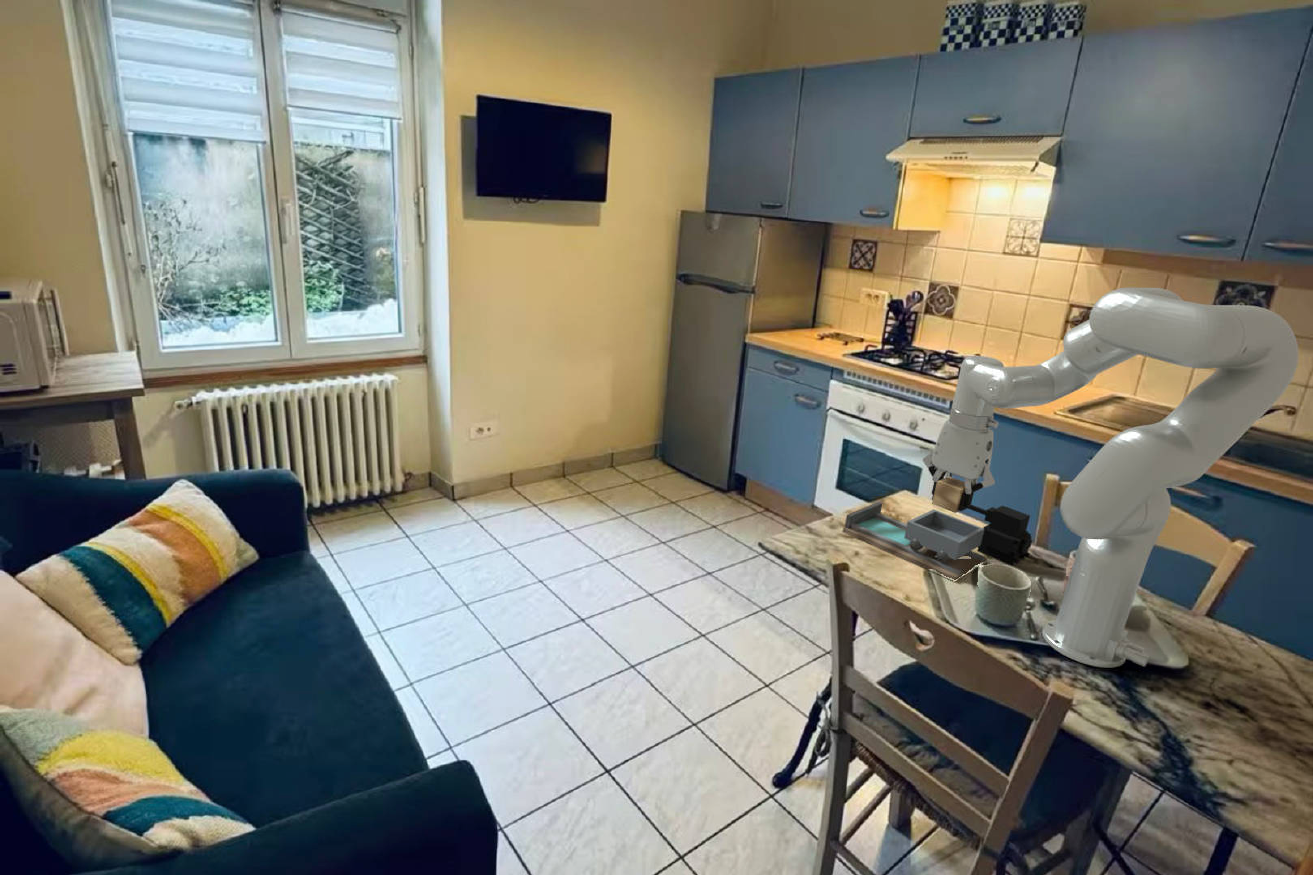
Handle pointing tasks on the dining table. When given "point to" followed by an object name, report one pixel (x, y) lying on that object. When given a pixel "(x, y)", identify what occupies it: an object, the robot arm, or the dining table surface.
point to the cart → (943, 535)
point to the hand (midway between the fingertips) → (949, 503)
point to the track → (902, 542)
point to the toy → (1005, 534)
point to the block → (948, 493)
